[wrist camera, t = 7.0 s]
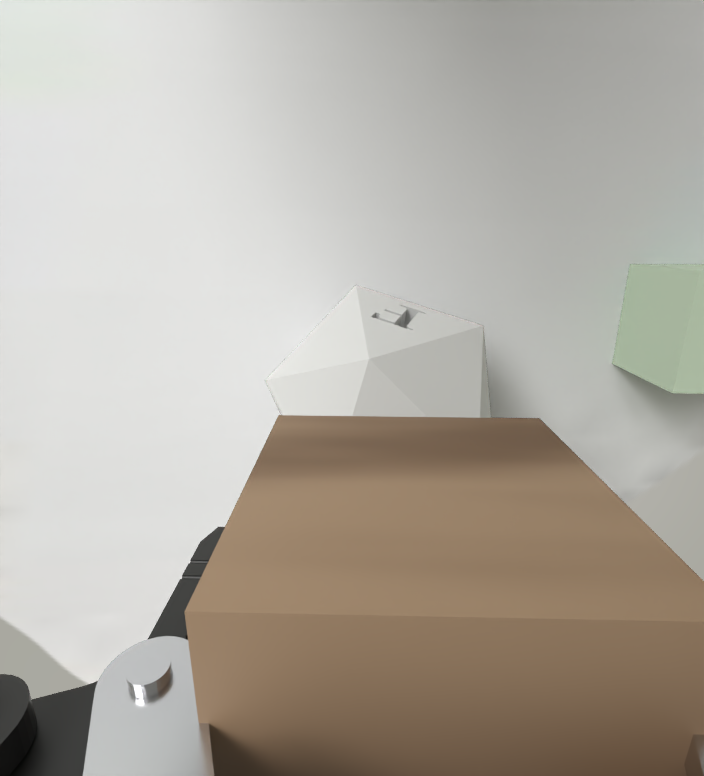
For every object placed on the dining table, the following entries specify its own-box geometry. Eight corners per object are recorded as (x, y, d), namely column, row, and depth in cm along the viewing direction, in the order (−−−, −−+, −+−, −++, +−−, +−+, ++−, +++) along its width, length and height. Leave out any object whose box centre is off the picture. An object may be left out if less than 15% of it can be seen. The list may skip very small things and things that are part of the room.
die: (507, 384, 23) (552, 278, 14) (441, 553, 21) (445, 558, 12) (357, 331, 25) (312, 211, 16) (285, 479, 23) (190, 436, 14)
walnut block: (278, 415, 10) (184, 611, 5) (539, 418, 10) (744, 621, 5) (287, 623, 12) (226, 941, 6) (511, 627, 11) (638, 954, 6)
